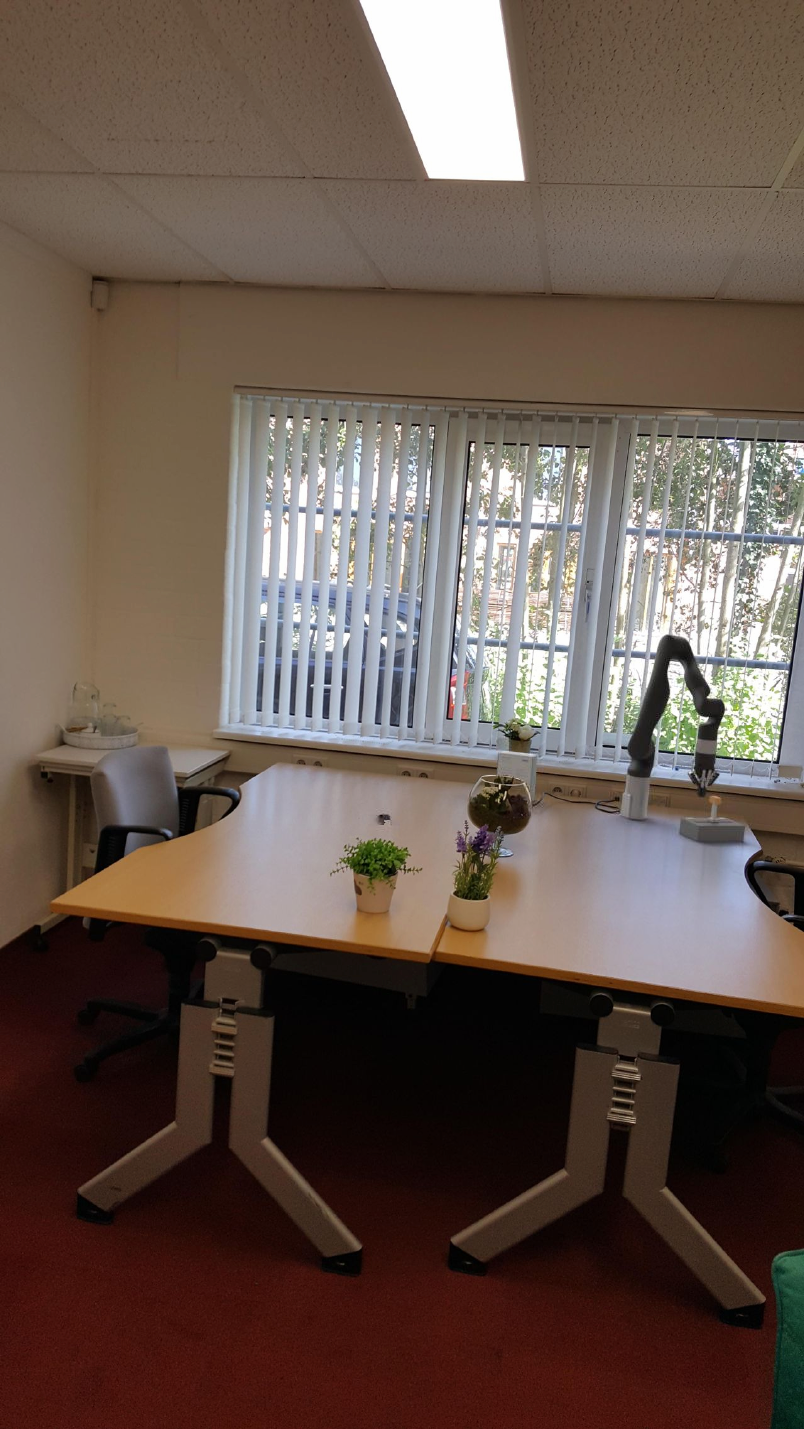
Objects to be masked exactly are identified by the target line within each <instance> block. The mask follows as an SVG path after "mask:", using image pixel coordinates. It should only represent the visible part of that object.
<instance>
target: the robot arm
mask: <svg viewBox="0 0 804 1429" xmlns="http://www.w3.org/2000/svg"><path fill="white" fill-rule="evenodd" d="M657 644H658V645H657V648H656V653H655V658H654V663H653V666H652V671H651V675H650V678H649V682H648V684H647V687H646V690H645V694H644V697H643V699H642V702H641V703H642V704H641V707H640V710H639V714H638V717H637V721H636V725H635V727H634V729H633V732H632V735H631V737H630V739H629V742H628V743H627V753H628V755H629V757H630V758H631V760H630V763H629V765H628V767H627V770H626V780H625V788H624V790H625V791H624V792H623V793H622V796H621V798H622V799H621V807H620V816H621V817H623V818H626V819H627V820H630V819H631V820H635V821H636V820H638V821H639V820H640V821H641V820H646V819H647V814H648V813H647V811H648V802H649V793H650V785H651V784H650V783H651V775H652V771H653V768H654V764H655V763H654V762H655V757H656V756H655V755H656V745H655V744H656V743H655V741H654V739H653V734H654V730H655V728H656V726H657V725H658V723H659V721H660V719H661V718H662V716H663V714H664V712H665V710H666V708H667V705H668V702H669V700H670V696H671V687H670V681H669V676H668V674H669V673H668V672H669V666H670V663H671V661H672V660H676V661H678V662H679V663H680V664H681V666H682V667H683V671H684V673H683V674H684V676H683V679H684V685H685V686H686V688H687V689H688V691H689V693H690V694H691V697H692V700H693V701H692V702H693V707H694V709H695V713H697V715H699V717H702V718H707V720H706V721H705V722H702V723H699V725H698V730H697V739H696V743H695V751H694V765H693V768H692V770H691V771H688V772H687V776H688V777H689V779H690V780H691V782H692V785H694V786H697V789H696V790H697V791H696V795H697V796H698V797H699V798H705V797H706V795H707V788H708V787H711V786H712V785H713V784H714V783H715V782H716V780H717V779H718V778H719V777H720V774H721V773H720V772H717V771H716V768H715V765H716V762H717V760H716V759H717V750H718V736H719V730H720V729H719V728H720V726H721V723H722V721H723V719H724V716H725V712H726V705H725V702H724V701H723V699H721V698H719V697H718V698H715V697H713V698H712V697H709V696H710V694H711V687H710V686H709V683H708V681H706V679H705V678H704V676H703V673H702V672H701V670H700V668H699V666H698V663H697V660H696V657H695V655H694V652H693V649H692V646H691V645H690V644H691V643H690V642H689V641H688V639H687V638H686V637H683V636H679V635H674V634H669V633H668V634H664V635H662V637H661V638H660V640H659V641H658V643H657Z"/></svg>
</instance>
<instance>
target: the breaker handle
mask: <svg viewBox="0 0 804 1429" xmlns="http://www.w3.org/2000/svg"><path fill="white" fill-rule="evenodd" d="M709 803H710V804H712V805H711V810H710V811H711V812H710V813H711V814H710V817H706V818H707V821H710V822H719V820H718V819H716V818H717V812H718V811H717V810H718V805H722V798H721V797H719V796H717V795H709Z"/></svg>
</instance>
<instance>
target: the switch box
mask: <svg viewBox="0 0 804 1429" xmlns="http://www.w3.org/2000/svg"><path fill="white" fill-rule="evenodd" d="M707 818H708V817H681V818H680V823H679V831H678V832H679V834H680V835H681V836H682V835H683V836H685V837H686V838H688V839H690V840H693V841H695V842H698V843H699V842H700V843H701V842H704V843H705V842H710V843H711V842H712V843H713V842H715V843H716V842H717V843H718V842H722V843H723V842H744V840H745V839H744V838H745V830H746V825H744V824H742V823H740V822H737V821H734V820H732V819H729V818H727V817H716V819H718V820H719V822H710V821H707Z"/></svg>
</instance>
